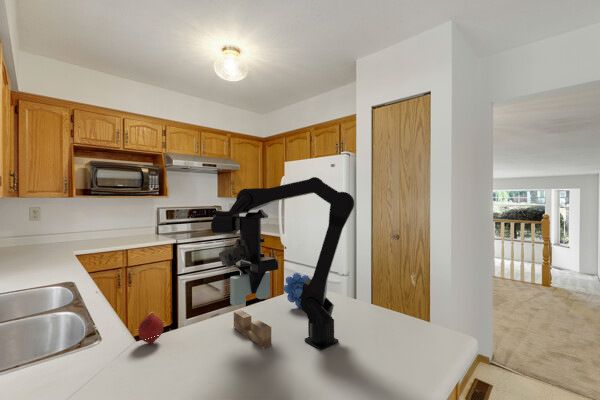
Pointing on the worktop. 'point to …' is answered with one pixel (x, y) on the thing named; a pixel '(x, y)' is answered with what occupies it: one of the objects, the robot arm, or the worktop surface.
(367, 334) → the worktop surface
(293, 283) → the grapes
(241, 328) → the slot rail
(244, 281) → the cross plate
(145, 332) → the onion
